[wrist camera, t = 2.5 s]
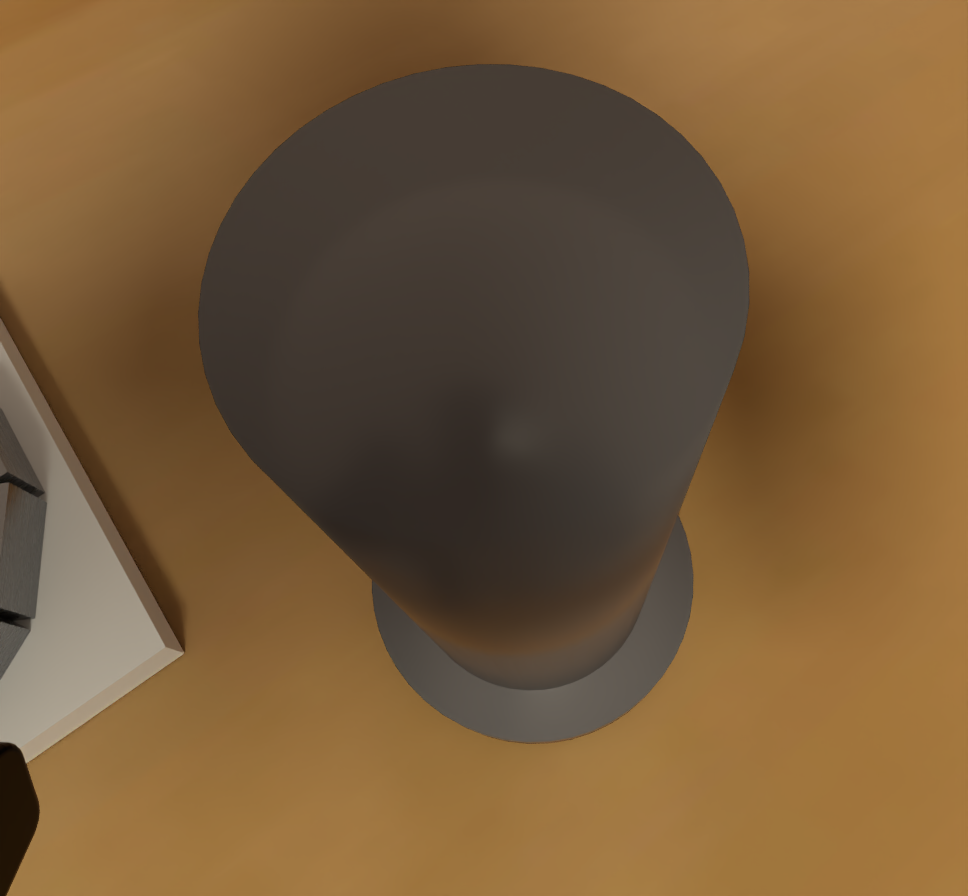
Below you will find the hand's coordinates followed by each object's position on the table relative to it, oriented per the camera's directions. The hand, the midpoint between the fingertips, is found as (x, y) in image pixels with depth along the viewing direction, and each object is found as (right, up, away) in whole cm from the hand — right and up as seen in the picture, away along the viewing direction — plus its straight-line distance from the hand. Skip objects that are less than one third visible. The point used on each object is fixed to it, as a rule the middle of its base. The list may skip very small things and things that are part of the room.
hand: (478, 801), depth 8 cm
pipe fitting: (+1, 0, +12) cm, 12 cm away
